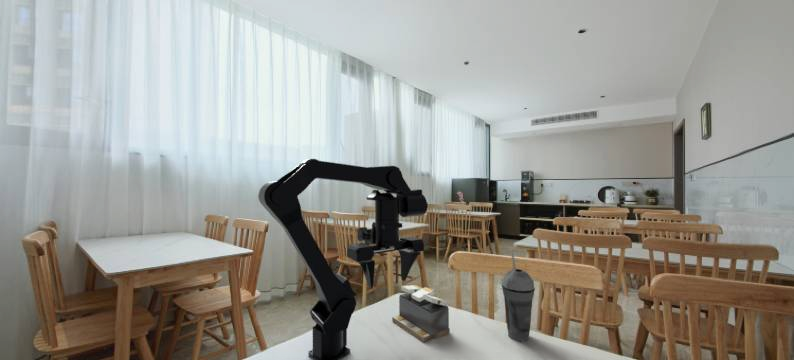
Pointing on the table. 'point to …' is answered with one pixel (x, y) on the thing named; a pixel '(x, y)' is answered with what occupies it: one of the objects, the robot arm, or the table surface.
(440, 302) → the rocker right
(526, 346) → the table surface
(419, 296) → the rocker mid
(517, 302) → the beverage cup
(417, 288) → the rocker left
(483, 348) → the table surface
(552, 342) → the table surface
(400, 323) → the switch unit
